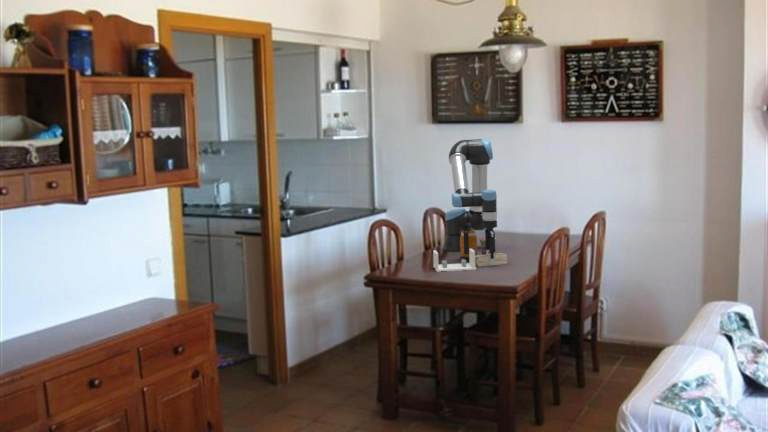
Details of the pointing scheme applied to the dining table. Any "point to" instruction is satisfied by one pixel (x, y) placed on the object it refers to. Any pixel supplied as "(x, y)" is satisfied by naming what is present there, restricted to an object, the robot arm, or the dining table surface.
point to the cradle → (455, 267)
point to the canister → (467, 241)
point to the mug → (484, 246)
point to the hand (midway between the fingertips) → (490, 263)
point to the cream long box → (484, 259)
